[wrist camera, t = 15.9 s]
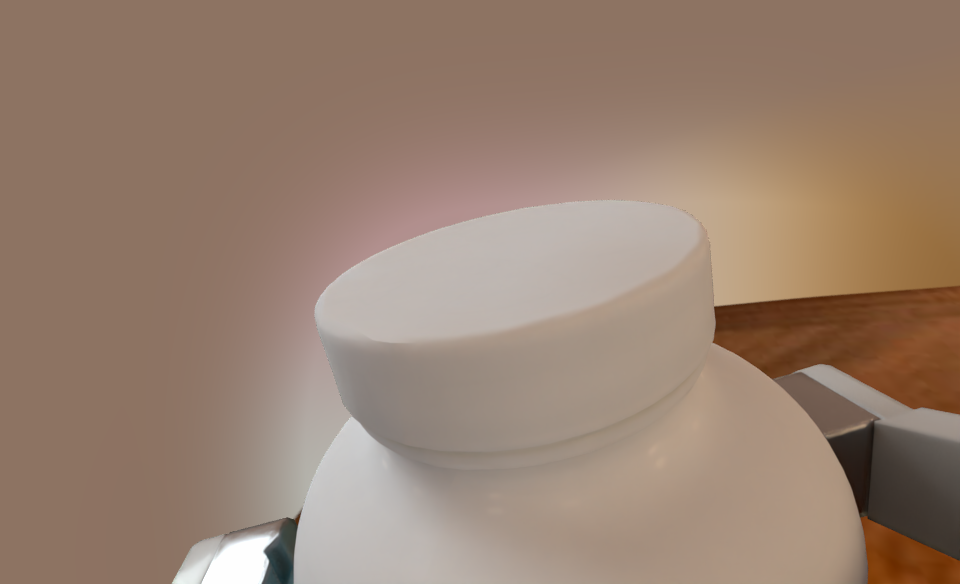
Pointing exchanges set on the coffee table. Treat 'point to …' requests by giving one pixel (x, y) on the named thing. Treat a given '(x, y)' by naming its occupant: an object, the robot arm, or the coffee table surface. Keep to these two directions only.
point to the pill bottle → (562, 418)
